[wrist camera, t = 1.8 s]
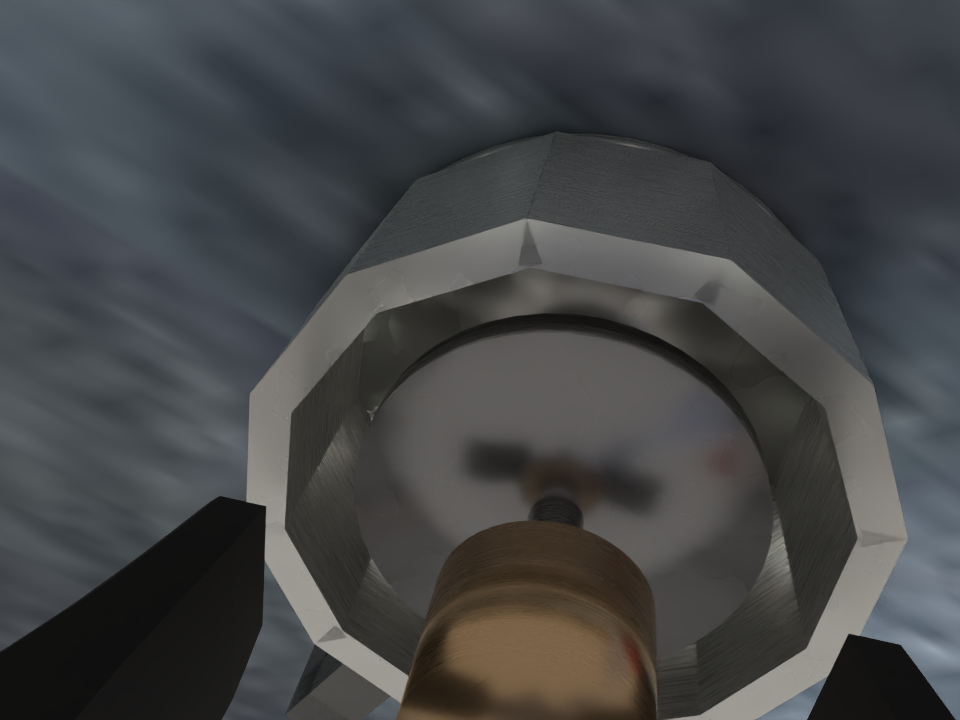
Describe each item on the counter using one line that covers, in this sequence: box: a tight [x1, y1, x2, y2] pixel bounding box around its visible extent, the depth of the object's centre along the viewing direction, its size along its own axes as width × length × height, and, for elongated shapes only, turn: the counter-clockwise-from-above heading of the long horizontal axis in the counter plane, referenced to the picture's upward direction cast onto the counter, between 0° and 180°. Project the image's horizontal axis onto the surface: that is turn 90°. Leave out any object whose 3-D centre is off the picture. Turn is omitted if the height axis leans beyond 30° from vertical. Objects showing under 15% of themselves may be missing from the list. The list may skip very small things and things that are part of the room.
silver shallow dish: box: [247, 131, 908, 720], centre depth 15 cm, size 9×11×4 cm
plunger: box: [354, 313, 773, 720], centre depth 12 cm, size 6×6×5 cm
